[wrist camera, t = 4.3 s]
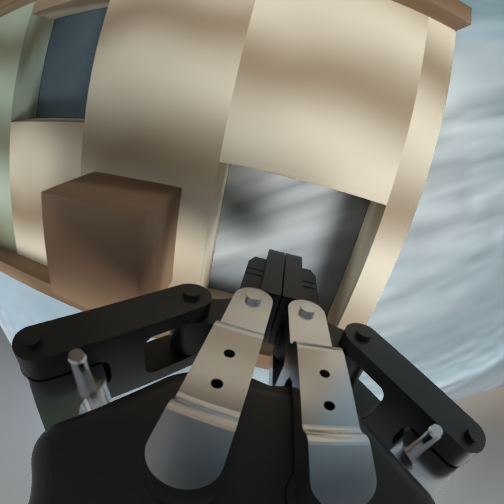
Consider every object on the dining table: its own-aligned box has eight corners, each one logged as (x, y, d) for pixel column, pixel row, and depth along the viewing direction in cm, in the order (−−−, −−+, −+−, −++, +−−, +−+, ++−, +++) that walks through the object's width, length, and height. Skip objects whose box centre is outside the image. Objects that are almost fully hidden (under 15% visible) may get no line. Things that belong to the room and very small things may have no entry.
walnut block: (94, 171, 13) (41, 192, 10) (181, 187, 13) (140, 214, 9) (94, 257, 15) (52, 292, 12) (172, 280, 15) (139, 327, 11)
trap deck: (7, 17, 11) (-40, 14, 6) (436, 27, 10) (488, -1, 5) (-7, 232, 19) (-47, 257, 14) (340, 338, 18) (348, 404, 13)
